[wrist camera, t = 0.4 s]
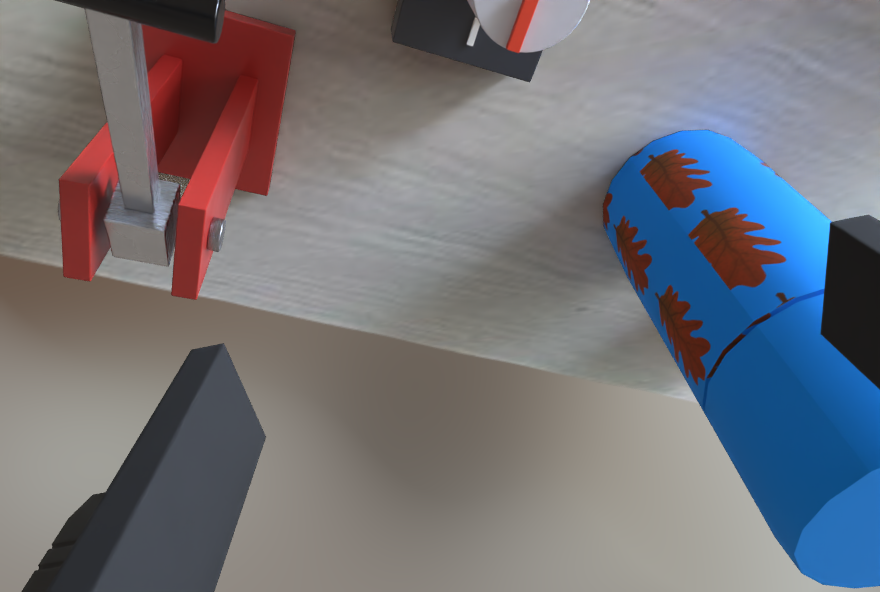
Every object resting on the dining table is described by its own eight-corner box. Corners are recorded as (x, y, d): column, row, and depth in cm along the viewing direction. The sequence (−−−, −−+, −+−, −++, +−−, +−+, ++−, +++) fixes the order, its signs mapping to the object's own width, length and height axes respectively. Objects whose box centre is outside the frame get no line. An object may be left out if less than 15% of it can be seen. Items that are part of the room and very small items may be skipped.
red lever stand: (141, -15, 33) (2, 91, 20) (296, 30, 35) (257, 152, 22) (136, 157, 38) (24, 324, 26) (269, 187, 40) (226, 355, 28)
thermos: (588, 267, 47) (753, 600, 27) (613, 130, 40) (855, 437, 20) (728, 260, 47) (988, 577, 28) (775, 124, 41) (1157, 413, 21)
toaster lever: (-1, -101, 15) (-40, -40, 14) (230, -31, 17) (211, 29, 16) (86, 201, 26) (67, 249, 25) (221, 228, 28) (210, 275, 27)
